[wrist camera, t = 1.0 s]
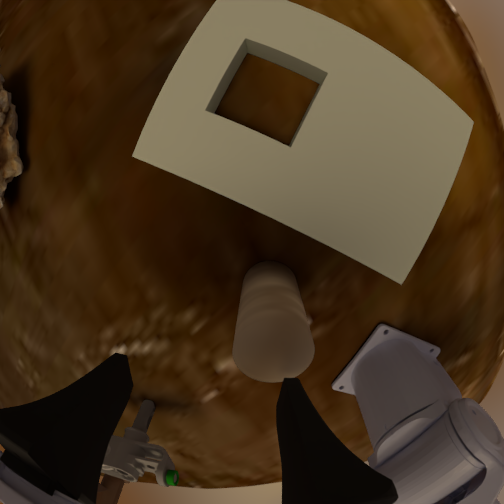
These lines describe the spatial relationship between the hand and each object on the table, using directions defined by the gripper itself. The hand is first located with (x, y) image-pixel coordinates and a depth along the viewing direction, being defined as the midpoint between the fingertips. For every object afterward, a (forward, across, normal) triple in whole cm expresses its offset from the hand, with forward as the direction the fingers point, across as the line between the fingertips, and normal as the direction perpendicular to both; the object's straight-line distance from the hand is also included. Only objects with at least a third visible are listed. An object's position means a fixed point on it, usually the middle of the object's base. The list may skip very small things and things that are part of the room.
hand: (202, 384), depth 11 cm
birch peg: (+10, -3, -1) cm, 10 cm away
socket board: (+10, -5, -13) cm, 17 cm away
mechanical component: (+10, +8, +16) cm, 20 cm away
